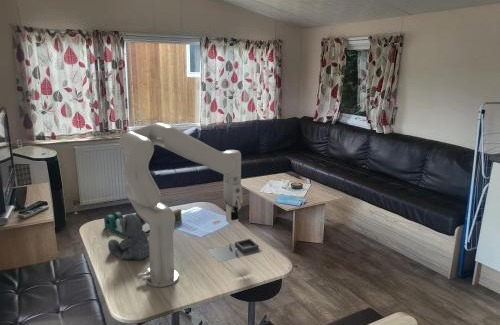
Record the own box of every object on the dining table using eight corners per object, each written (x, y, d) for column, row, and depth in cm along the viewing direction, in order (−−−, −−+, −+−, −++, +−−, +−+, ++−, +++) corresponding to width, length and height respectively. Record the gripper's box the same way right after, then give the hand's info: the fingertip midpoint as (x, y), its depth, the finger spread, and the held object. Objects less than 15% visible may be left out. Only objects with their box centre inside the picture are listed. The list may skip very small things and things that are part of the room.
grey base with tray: (218, 264, 169) (219, 256, 168) (207, 252, 179) (207, 245, 178) (262, 252, 179) (262, 246, 178) (249, 242, 189) (249, 235, 188)
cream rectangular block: (230, 224, 171) (230, 207, 169) (226, 220, 175) (226, 204, 173) (238, 222, 173) (238, 205, 171) (234, 219, 177) (234, 202, 174)
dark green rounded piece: (104, 228, 200) (103, 214, 198) (116, 224, 205) (115, 210, 203) (126, 238, 190) (125, 223, 188) (137, 234, 195) (137, 219, 193)
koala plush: (140, 240, 188) (138, 202, 183) (161, 253, 176) (160, 213, 171) (106, 252, 176) (103, 212, 171) (127, 267, 164) (124, 225, 159)
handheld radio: (182, 221, 211) (145, 237, 192) (178, 220, 213) (141, 235, 194) (182, 209, 210) (144, 224, 190) (177, 208, 211) (140, 223, 192)
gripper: (249, 182, 163) (248, 223, 168) (231, 172, 177) (231, 209, 182) (233, 185, 160) (233, 226, 165) (216, 174, 174) (216, 212, 179)
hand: (232, 217), depth 174 cm, fingers closed on cream rectangular block, 4 cm apart
